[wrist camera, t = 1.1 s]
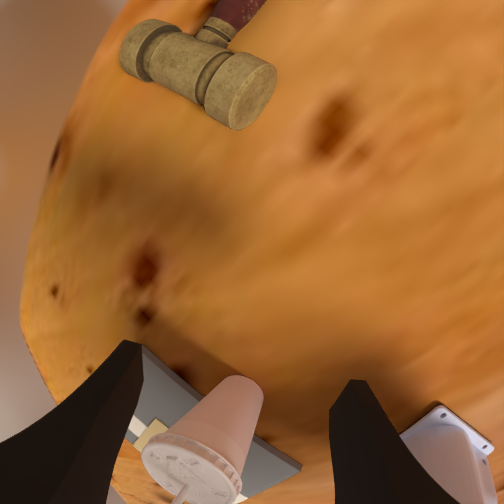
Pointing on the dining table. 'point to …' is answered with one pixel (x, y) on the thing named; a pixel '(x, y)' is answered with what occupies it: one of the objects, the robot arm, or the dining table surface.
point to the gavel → (204, 63)
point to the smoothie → (207, 445)
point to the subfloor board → (182, 401)
